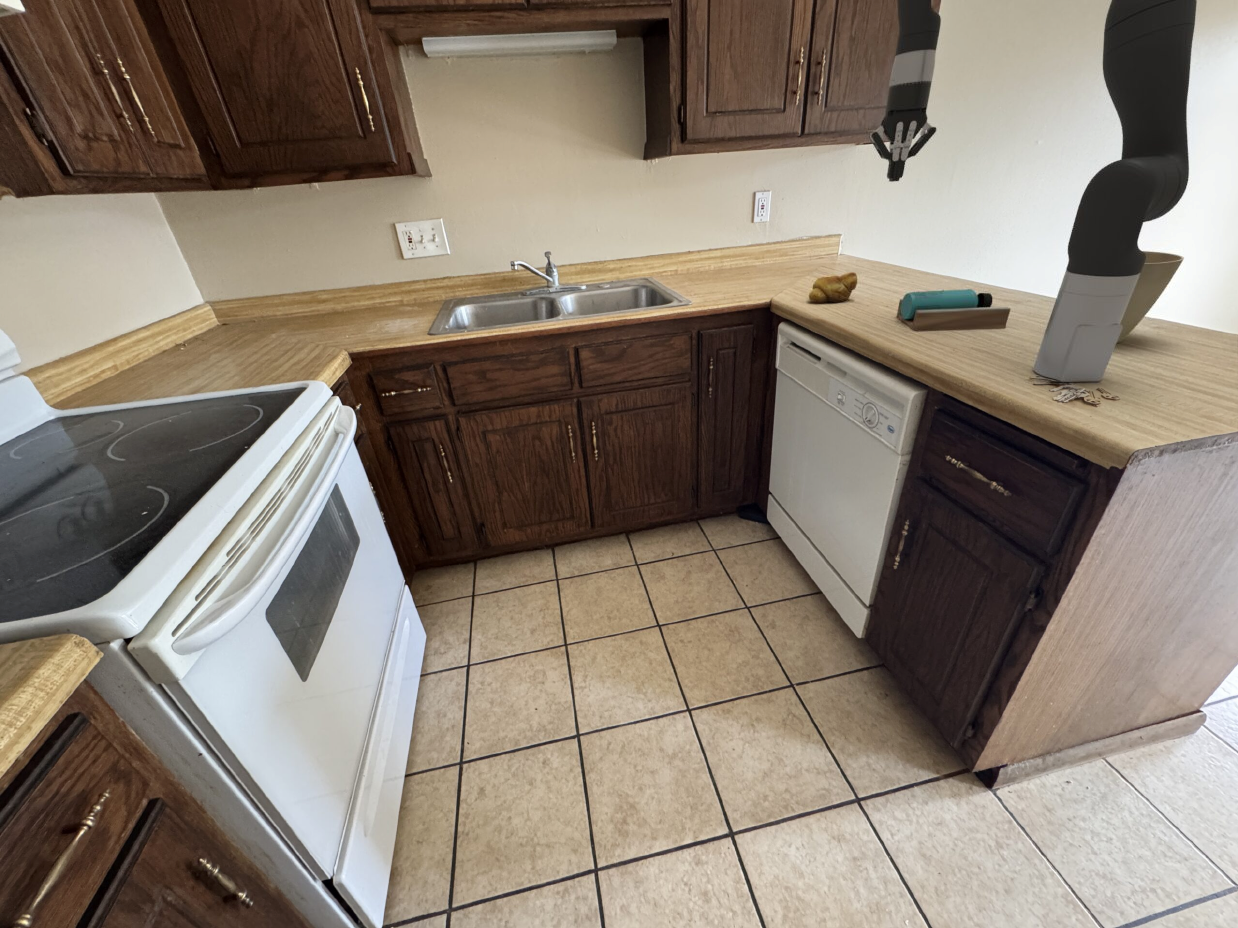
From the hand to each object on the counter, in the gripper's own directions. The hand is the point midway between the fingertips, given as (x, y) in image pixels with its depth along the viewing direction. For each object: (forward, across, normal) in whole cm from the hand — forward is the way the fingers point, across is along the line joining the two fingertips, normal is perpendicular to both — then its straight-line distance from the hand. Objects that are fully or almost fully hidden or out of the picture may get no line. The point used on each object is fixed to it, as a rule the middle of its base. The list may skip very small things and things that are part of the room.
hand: (894, 181), depth 112 cm
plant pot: (+31, +40, -16) cm, 53 cm away
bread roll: (+31, -4, +28) cm, 42 cm away
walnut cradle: (+31, +18, 0) cm, 36 cm away
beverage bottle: (+27, +6, 0) cm, 27 cm away
